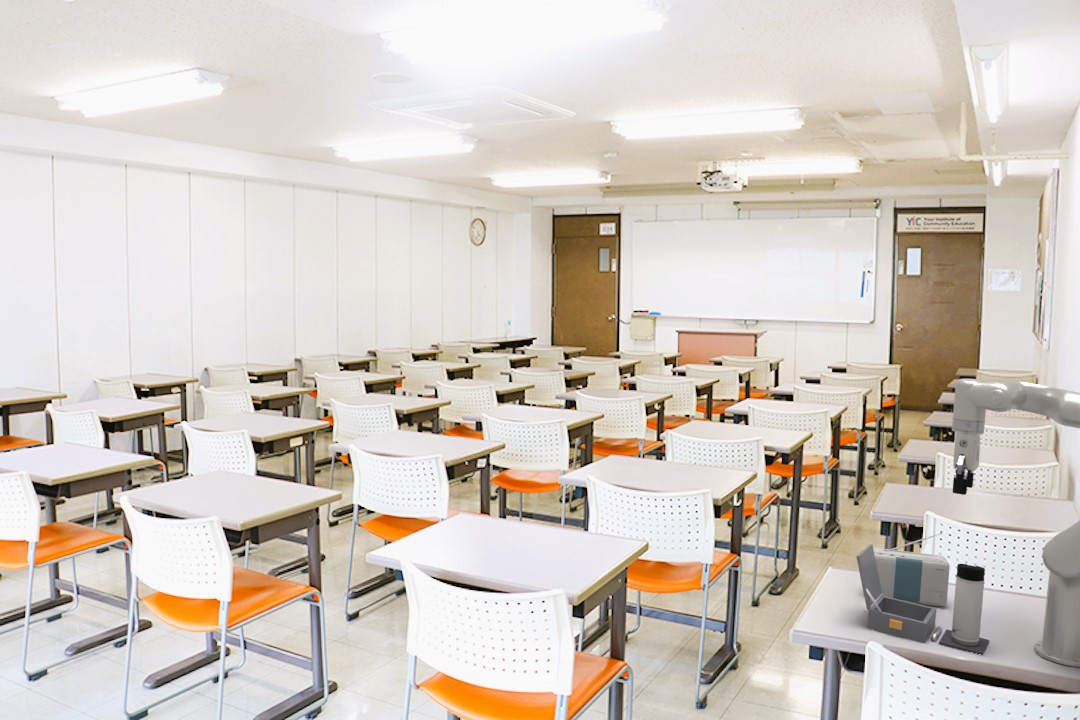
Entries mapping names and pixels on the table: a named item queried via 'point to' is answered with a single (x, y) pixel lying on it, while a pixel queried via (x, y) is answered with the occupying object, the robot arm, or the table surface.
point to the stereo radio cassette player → (913, 575)
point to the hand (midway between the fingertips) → (962, 490)
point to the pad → (949, 642)
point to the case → (892, 605)
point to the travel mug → (968, 605)
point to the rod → (936, 633)
